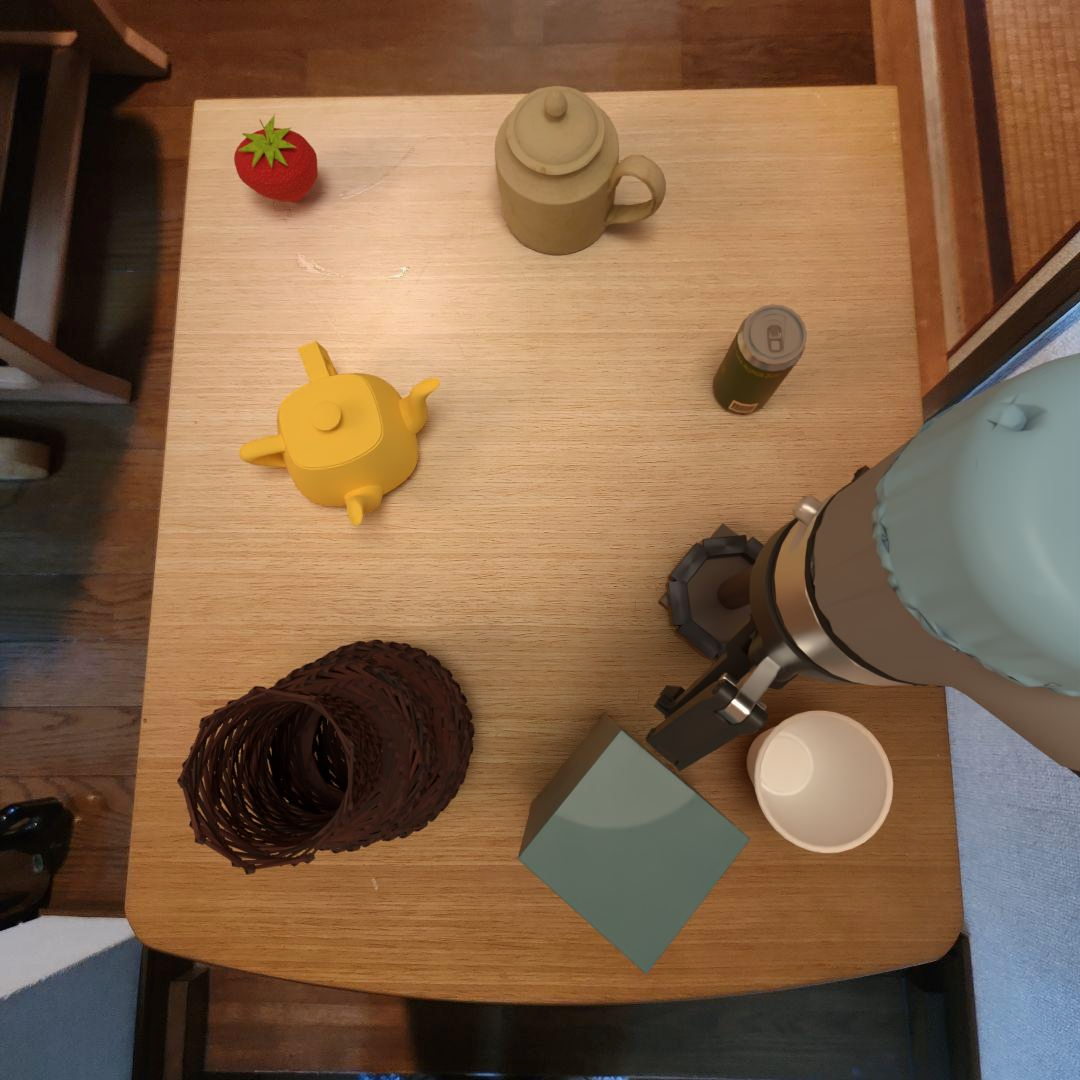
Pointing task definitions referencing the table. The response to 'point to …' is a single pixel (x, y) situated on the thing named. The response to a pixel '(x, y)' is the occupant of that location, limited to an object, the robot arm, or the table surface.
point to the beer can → (759, 358)
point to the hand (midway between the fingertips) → (743, 622)
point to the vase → (330, 757)
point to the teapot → (344, 435)
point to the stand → (627, 842)
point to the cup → (821, 781)
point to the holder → (720, 593)
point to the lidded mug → (566, 172)
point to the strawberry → (277, 163)
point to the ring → (683, 575)
